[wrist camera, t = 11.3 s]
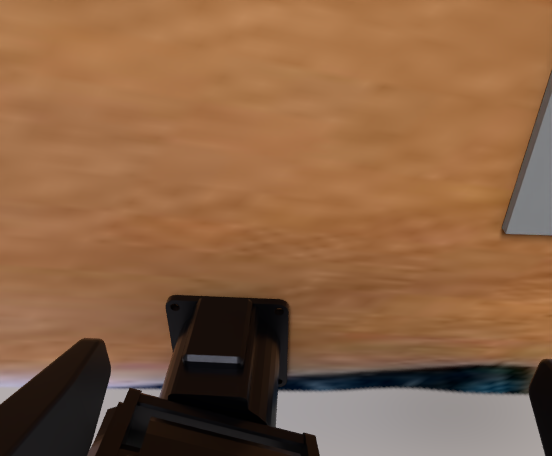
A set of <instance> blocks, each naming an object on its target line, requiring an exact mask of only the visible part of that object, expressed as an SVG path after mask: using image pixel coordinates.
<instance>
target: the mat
mask: <svg viewBox="0 0 552 456" xmlns="http://www.w3.org/2000/svg"><path fill="white" fill-rule="evenodd" d="M502 229H503V230H504V232H505V233H506V234H529V235H552V72H551V75H550V78H549V82H548V85H547V88H546V91H545V94H544V97H543V100H542V104H541V107H540V110H539V113H538V116H537V119H536V122H535V125H534V129H533V132H532V135H531V138H530V141H529V144H528V147H527V151H526V154H525V157H524V160H523V163H522V166H521V169H520V173H519V176H518V179H517V182H516V185H515V188H514V191H513V195H512V198H511V201H510V204H509V207H508V210H507V213H506V216H505V220H504V223H503V226H502Z"/></svg>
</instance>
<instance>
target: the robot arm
mask: <svg viewBox="0 0 552 456" xmlns="http://www.w3.org/2000/svg"><path fill="white" fill-rule="evenodd" d="M174 304H177V305H179V306H175V305H174ZM276 308H281V309H282V310H277V309H276ZM166 313H167V319H168V325H169V331H170V337H171V343H172V349H173V355H172V358H171V362H170V365H169V368H168V371H167V374H166V377H165V381H164V384H163V387H162V390H161V393H160V397H155V396H151V395H147V394H143V393H141V392H142V391H140V390H137V389H133V388H129V391H128V393H127V395H126V398H125V400H124V402H123V403H122V402H119V403H118V405H117V407H114V408H110V409H108V410H107V412H106V415H105V417H104V419H103V422H102V425H101V427H100V429H99V432H98V434H97V436H96V438H95V441H94V443H93V445H92V447H91V449H90V446H91V443H92V440H93V437H94V433H95V429H96V426H97V422H98V418H99V415H100V411H101V407H102V404H103V400H104V396H105V393H106V389H107V386H108V382H109V378H110V373H111V365H110V361H109V357H108V354H107V350H106V346H105V343H104V341H103V340H102V339H94V338H84V339H81V340H80V341H78V342H77V343H76V344H75V345H73V346H72V347H71V348H70V349H68V350H67V351H66V352H65V353H63V354H62V355H61V356H60V357H58V358H57V359H56V360H55V361H54V362H52V363H51V364H50V365H49V366H47V367H46V368H45V369H44V370H42V371H41V372H40V373H39V374H37V375H36V376H35V377H34V378H33V379H31V380H30V381H29V382H28V383H26V384H25V385H24V386H23V387H21V388H20V389H19V390H18V391H17V392H15V393H14V394H13V395H12V396H10V397H9V398H8V399H7V400H6V401H4V402H3V403H2V404H0V456H320V455H319V450H318V445H317V441H316V437H315V435H311V434H307V433H303V434H299V433H295V432H291V431H287V430H283V429H279V428H276V411H277V395H278V387H282V386H284V385H285V384H286V383H287V357H288V319H289V306H288V303H287V302H286V301H284V300H280V299H258V298H233V297H209V296H184V295H173V296H170V297H169V298H168V300H167V303H166ZM529 397H530V401H531V405H532V408H533V412H534V415H535V419H536V423H537V426H538V430H539V434H540V438H541V441H542V445H543V449H544V452H545V456H552V359H543V360H542V361H541V362H540V363H539V365H538V367H537V370H536V372H535V374H534V376H533V378H532V380H531V383H530V386H529ZM89 449H90V450H89Z"/></svg>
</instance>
